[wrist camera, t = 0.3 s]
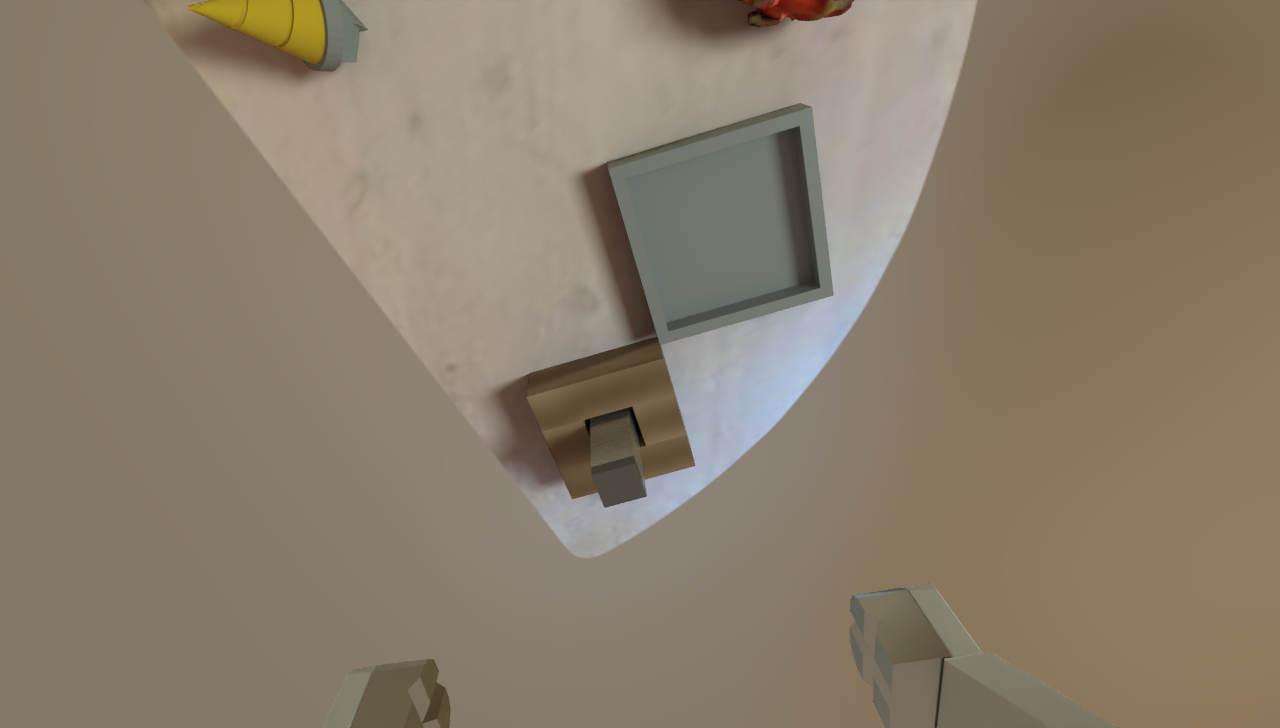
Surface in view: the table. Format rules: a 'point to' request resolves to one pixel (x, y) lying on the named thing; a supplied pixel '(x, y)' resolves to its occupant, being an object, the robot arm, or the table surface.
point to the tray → (727, 223)
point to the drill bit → (293, 27)
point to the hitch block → (610, 410)
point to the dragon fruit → (794, 10)
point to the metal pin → (616, 457)
